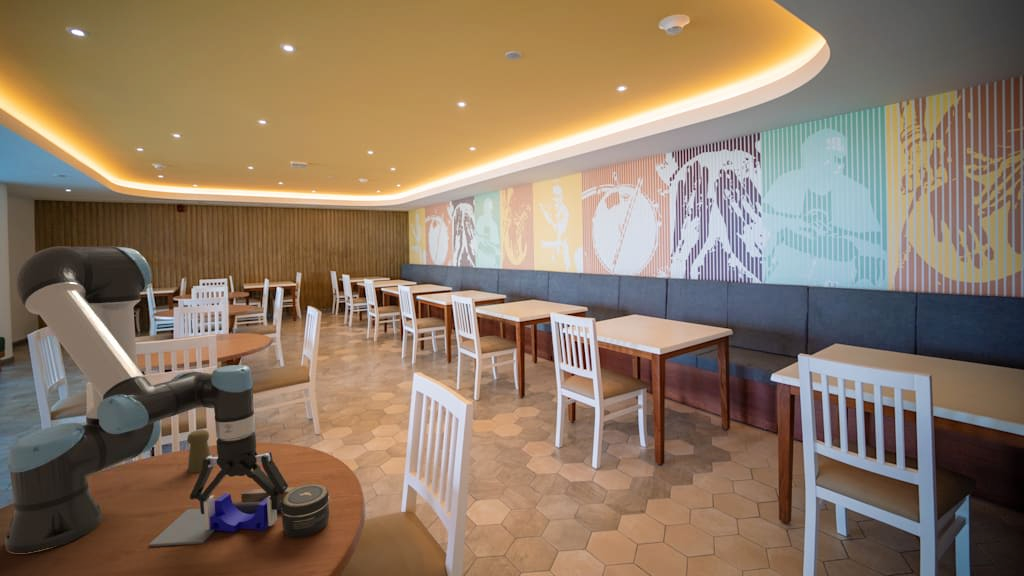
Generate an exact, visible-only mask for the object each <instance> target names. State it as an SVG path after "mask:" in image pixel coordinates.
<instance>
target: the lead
mask: <svg viewBox="0 0 1024 576" xmlns="http://www.w3.org/2000/svg"><path fill="white" fill-rule="evenodd" d="M259 503H261V502H245V503H242V502H234V503H233V504H234V506H235V507H236V508H237V509H238V510H239V511H241V512H243V513H246V514H255V513H256V512H257V508H258V504H259ZM278 512H281V501H280V506H279V507H278V509H277V513H278Z"/></svg>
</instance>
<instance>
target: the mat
mask: <svg viewBox="0 0 1024 576" xmlns="http://www.w3.org/2000/svg"><path fill="white" fill-rule="evenodd" d="M215 531H216V530H210V529H209V530H206V529H205V515H204V514H201V509H200V508H189V509H188V508H187V509H186V510H185V511H184V512H183V513H182V514H181V515H180V516H179V517H177V518H176V519H175V520H174V521H172V523H171V524H169V525H168V527H167V528H165V529H164V530H163V531H162V532H161V533H159V535H157V536H156V537H155V538H154V539H153V540H152V541H151V542H150V543H149V544H148V546H149V547H161V546H162V547H163V546H174V545H175V546H179V545H195V544H204V543H205V542H206V540H208V539H209V537H211V536H212V534H213V533H214V532H215Z"/></svg>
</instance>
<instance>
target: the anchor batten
mask: <svg viewBox="0 0 1024 576" xmlns="http://www.w3.org/2000/svg"><path fill="white" fill-rule="evenodd" d="M298 487H299V486H294V487H293V486H291V487H289V486H288V488H287V489H286V490H285V492H284V493H283V494H280V501H282V498H283V497H284V495H285V494H287V493H288V492H289V491H291V490H293V489H295V488H298ZM266 497H267V498H268V497H269V495H268V494H267V493H266V492H265V491H264V490H263V489H262V488H253V489H245V490H243V492H241V496H240V498H241V503H245V502H262V501H263V500H264V499H265V498H266Z"/></svg>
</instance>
